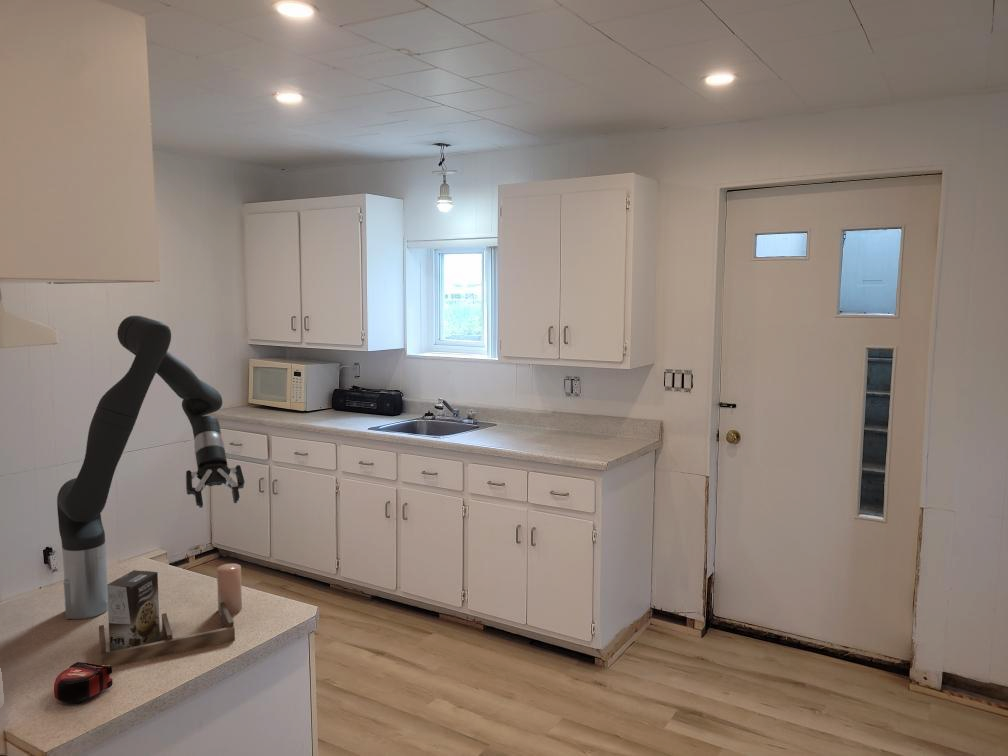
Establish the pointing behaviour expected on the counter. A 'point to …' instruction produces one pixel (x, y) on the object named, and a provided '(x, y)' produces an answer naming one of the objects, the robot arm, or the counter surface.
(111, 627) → the coffee box
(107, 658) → the wooden rack
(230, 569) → the pink rounded cylinder
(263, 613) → the counter surface
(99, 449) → the robot arm
